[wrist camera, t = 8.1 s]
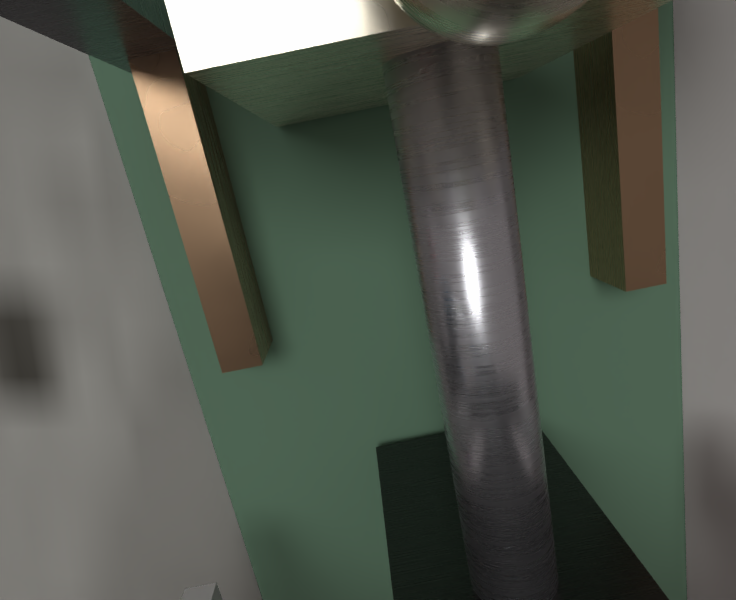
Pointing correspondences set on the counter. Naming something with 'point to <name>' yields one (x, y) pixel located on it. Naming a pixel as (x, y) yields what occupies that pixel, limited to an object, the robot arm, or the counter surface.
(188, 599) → the robot arm
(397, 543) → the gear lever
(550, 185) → the mat
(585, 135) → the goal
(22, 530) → the counter surface
